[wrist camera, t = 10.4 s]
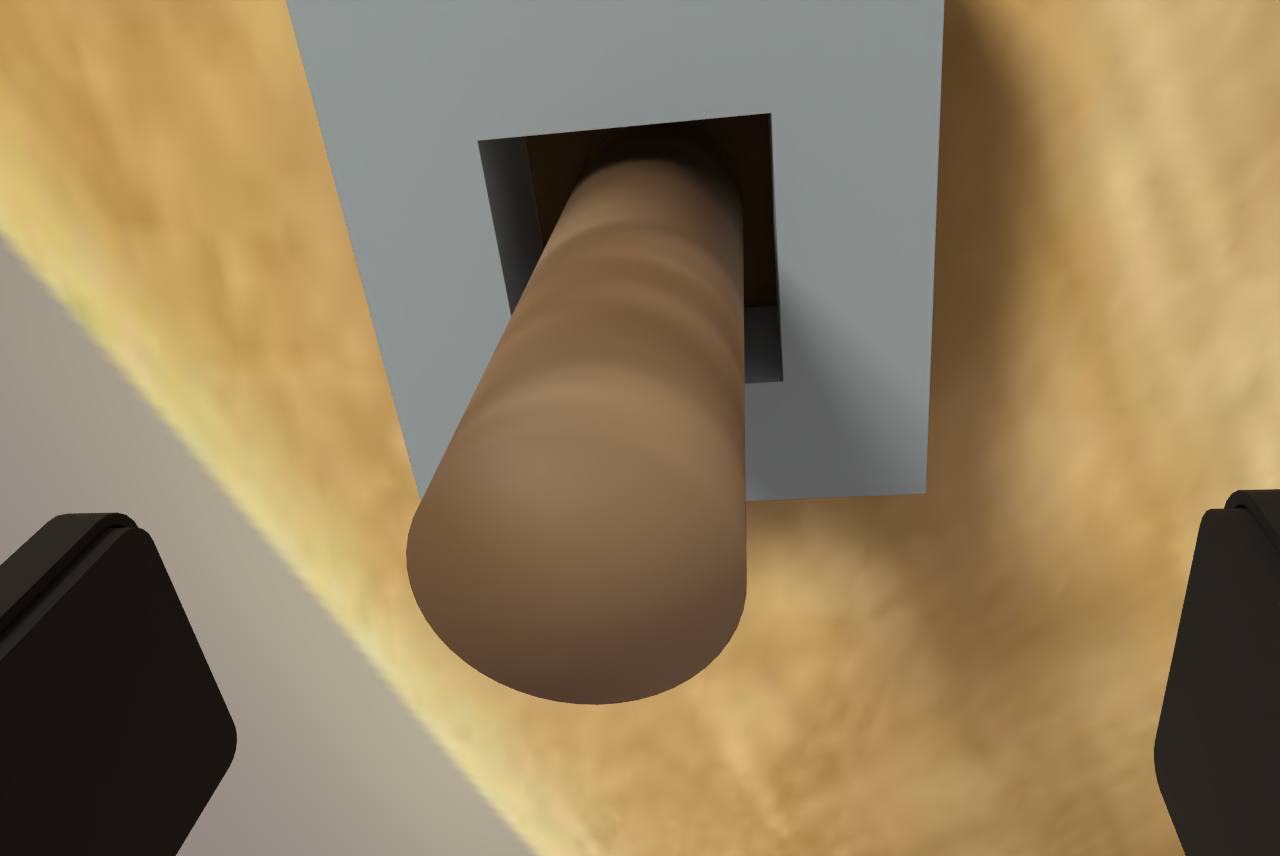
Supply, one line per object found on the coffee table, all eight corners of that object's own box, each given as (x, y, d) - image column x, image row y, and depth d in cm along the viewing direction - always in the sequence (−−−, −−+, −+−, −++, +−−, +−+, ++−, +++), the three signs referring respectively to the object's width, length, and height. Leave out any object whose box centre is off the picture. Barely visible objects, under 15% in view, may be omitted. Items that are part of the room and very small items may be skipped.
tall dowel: (737, 113, 19) (735, 424, 9) (747, 277, 21) (755, 702, 10) (565, 129, 19) (369, 443, 9) (588, 289, 21) (445, 707, 11)
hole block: (911, -103, 17) (947, -92, 14) (900, 405, 22) (925, 493, 19) (357, -36, 18) (282, -13, 15) (465, 429, 23) (424, 515, 20)
